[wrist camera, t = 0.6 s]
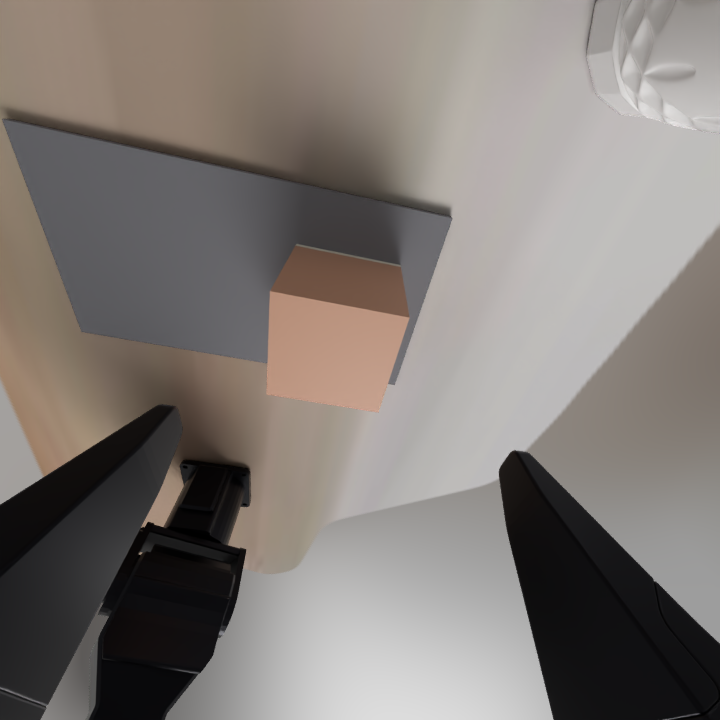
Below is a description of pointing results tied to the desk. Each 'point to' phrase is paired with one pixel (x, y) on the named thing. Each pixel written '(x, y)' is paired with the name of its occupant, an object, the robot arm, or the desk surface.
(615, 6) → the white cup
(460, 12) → the desk surface
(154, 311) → the mat
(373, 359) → the cube
